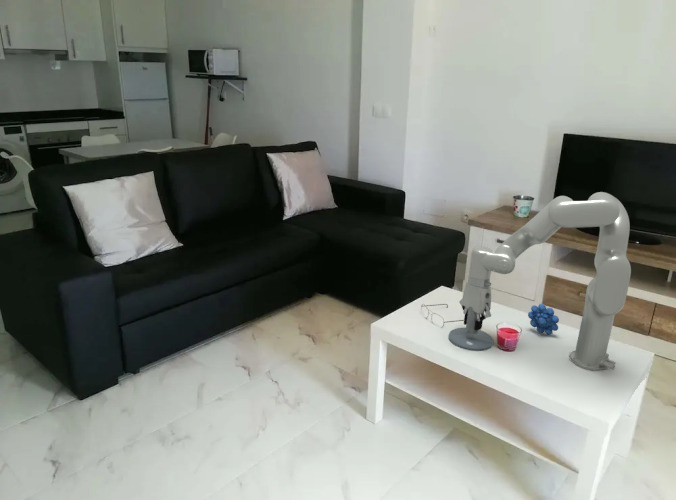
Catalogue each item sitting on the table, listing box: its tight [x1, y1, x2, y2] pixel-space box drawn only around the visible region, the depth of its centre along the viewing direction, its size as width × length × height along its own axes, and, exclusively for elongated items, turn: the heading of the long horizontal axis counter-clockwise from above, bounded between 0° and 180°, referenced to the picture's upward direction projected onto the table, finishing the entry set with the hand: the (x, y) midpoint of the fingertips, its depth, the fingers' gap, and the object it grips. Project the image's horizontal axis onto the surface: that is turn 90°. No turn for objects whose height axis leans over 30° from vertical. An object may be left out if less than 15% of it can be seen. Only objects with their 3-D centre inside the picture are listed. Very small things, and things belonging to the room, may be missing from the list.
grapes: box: [527, 303, 560, 336], centre depth 200 cm, size 12×7×12 cm, turn 58°
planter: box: [465, 307, 478, 334], centre depth 192 cm, size 4×4×10 cm
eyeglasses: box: [420, 303, 464, 329], centre depth 212 cm, size 16×15×5 cm
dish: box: [448, 326, 494, 352], centre depth 195 cm, size 16×16×1 cm
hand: (472, 326), depth 193 cm, fingers closed on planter, 4 cm apart
